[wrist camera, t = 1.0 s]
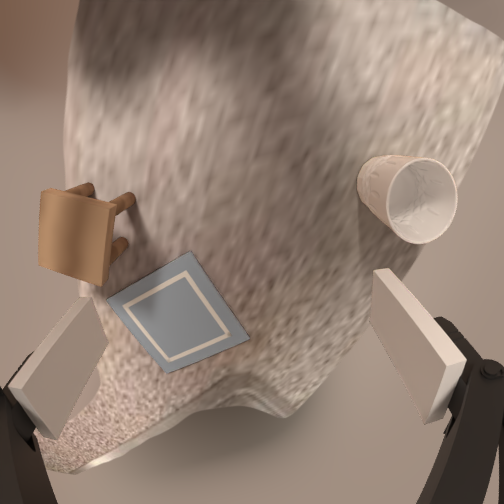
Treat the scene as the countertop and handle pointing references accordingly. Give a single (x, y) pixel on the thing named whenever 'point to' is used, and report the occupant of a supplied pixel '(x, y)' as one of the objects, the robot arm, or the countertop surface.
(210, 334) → the mat
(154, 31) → the countertop surface
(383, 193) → the white cup
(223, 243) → the countertop surface
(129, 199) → the stool
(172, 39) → the countertop surface
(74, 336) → the robot arm
